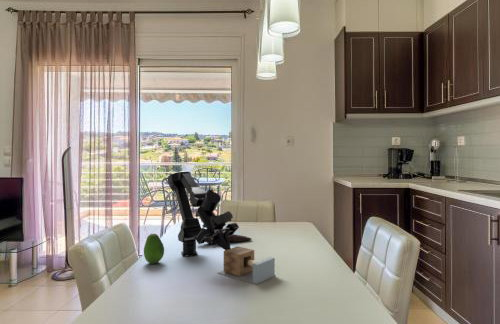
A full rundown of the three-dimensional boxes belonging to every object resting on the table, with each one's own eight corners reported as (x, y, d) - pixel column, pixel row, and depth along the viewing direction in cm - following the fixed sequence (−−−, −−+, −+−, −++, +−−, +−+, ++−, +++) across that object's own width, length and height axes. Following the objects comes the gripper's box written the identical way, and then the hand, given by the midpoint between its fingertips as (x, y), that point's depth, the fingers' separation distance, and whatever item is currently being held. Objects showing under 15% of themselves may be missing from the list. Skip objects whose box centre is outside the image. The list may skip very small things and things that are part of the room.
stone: (194, 238, 167) (203, 218, 169) (192, 236, 173) (200, 217, 175) (246, 259, 175) (254, 239, 177) (242, 257, 181) (249, 238, 183)
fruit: (168, 261, 145) (167, 232, 144) (158, 267, 137) (157, 236, 137) (150, 259, 147) (150, 230, 147) (139, 265, 139) (139, 235, 139)
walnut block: (223, 271, 130) (223, 250, 130) (238, 266, 136) (237, 246, 136) (240, 276, 125) (240, 254, 125) (254, 270, 131) (254, 249, 131)
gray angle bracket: (217, 273, 130) (217, 255, 130) (237, 265, 138) (237, 249, 138) (256, 284, 118) (256, 265, 118) (275, 275, 127) (275, 257, 127)
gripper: (201, 208, 129) (223, 242, 122) (235, 202, 143) (256, 233, 137) (187, 227, 134) (207, 261, 127) (221, 220, 149) (241, 250, 142)
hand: (229, 250), depth 133 cm, fingers closed
